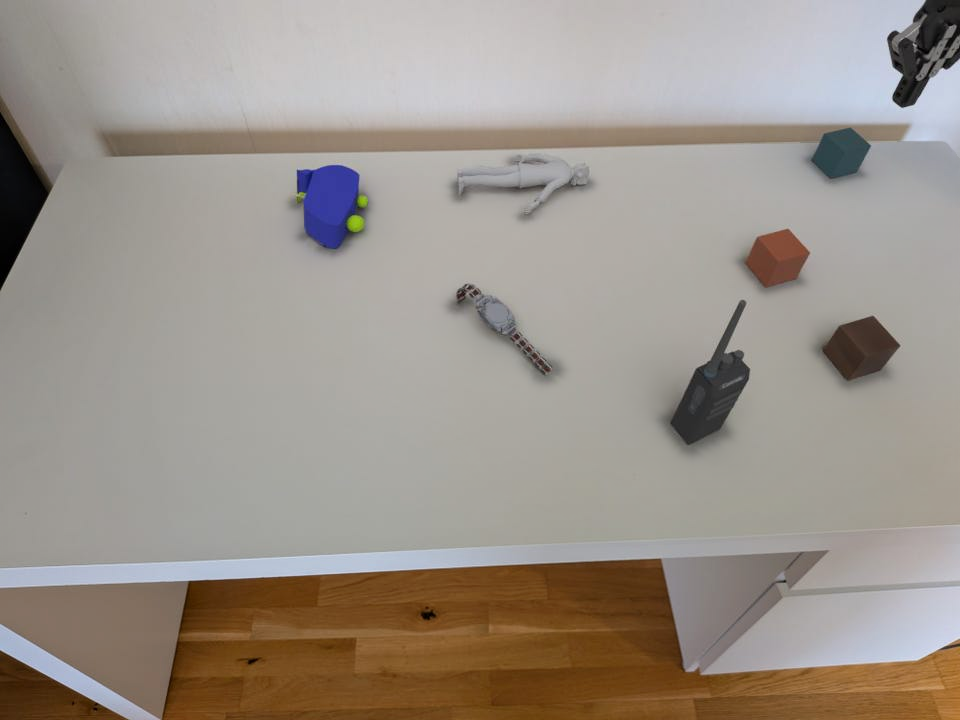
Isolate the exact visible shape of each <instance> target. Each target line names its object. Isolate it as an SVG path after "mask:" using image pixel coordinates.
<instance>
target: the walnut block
mask: <svg viewBox="0 0 960 720" xmlns="http://www.w3.org/2000/svg"><path fill="white" fill-rule="evenodd" d="M901 346H902V345H901V344H900V343H899V342H898V341H897V340H896V338H895V337H894V336H893V335H892V334H891V333H890V332H889V331H888V329H886V328H885V327H884V325H883V324H882V323H881V322H880V321H879V320H878V319H877V318H876V317H875V316H874V315H870V316H867V317H862V318H860V319H857V320H852V321H850V322H846V323H843V324H840V325H838V326H837V327H836V329H835V331H834V332H833V334H832V336H831V337H830V339H829V340H828V342H827V343H826V344H825V346H824V348H822V352H823V353H824V355H825V356H827V358H828V359H829V361H830V362H831V363H832V364H833V366H834V367H835V368H836V369H837V370H838V372H839V373H840V374H841V375H842V376H843V378H844V379H845V380H846V381H852V380H855V379H858V378H862V377H865V376H867V375H870V374H873V373H876V372H880V371H881V370H882V369H883V368H884V367H885V366H886V365H887V363H888V362H889V361H890V360H891V358H892V357H893V356H894V354H896V353H897V351H898V350H899V349H900V347H901Z"/></svg>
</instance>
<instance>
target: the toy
mask: <svg viewBox="0 0 960 720" xmlns="http://www.w3.org/2000/svg"><path fill="white" fill-rule="evenodd" d="M359 188H360V174H359V173H358V172H357V171H356V170H354V169H352V168H350V167H348V166H345V165H342V164H328V165H325V166H321V167H319V168H316V169H296V193H295V192H291V195H292V196H296V199H297V200H296V201H297V202H296V203H297V204H298V203H299V202H301V199H303V226H304V227H303V228H304V230H305V232H306V233H307V234H308V235H309V236H310V237H311V238H313V239H314V240H315V241H317V243H320V245H323V247H324V248H326V247H327V248H330V249H338V248H339V247H340V246H341V245H342V243H343V242H344V240H345V238H346V237H347V234H348V233H349V231H350V232H352V233H358V232H360V231H362V230H363V229H364V228H365V221H364V219H363V217H361V216H360V215H357V209H358V207H359V208H366V207H367V205H368V203H369V200H368V198H367V196H365V195H359V190H360V189H359Z"/></svg>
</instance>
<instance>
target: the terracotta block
mask: <svg viewBox="0 0 960 720" xmlns="http://www.w3.org/2000/svg"><path fill="white" fill-rule="evenodd" d="M810 255H811V251H810V250H808V248H807V247H806V246H805V245H804V244H803V243H802V242H801V240H799V238H798V237H796V235H795V234H794V233H793V232H792V230H790V229H789V228H785V229H781V230H777V231H774V232H769V233H766V234H762V235H759V236H756V238H755V240H754V242H753V245H752V246H751V248H750V252H749V253H748V256H747V259H746V260H745V265H746V266H747V267H748V269H750V271H751V272H752V273H753V274H754V276H755V277H756V278H757V279H758V280H759V282H760V283H761V284H762V285H763V287H764V288H769V287H773V286H776V285H780V284H784V283H787V282H790V281H793V280H797V278H798V276H799V274H800V273H801V271H802V269H803V268H804V266H805V263H806V262H807V260H808V258H809V257H810Z"/></svg>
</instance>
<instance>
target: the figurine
mask: <svg viewBox="0 0 960 720" xmlns="http://www.w3.org/2000/svg"><path fill="white" fill-rule="evenodd" d="M514 160H515V162H517V163H516V164H513V165H512V164H511V165H507V166H506V165H505V166H497V167H490V166H479V165H478V166H470V167H461V169H459V168H457V189H458V196H462V194H463V191H464V189H465V187H489V188H490V187H491V188H515V187H517V188H518V189H522V188H530V187H535V186H545V187H544V188H543V189H542V190H541V191H540V193H539V194H538V196H536V198H535V199H534V202H532V203H531V204H530V205H526V207H527V208H525V209H524V210H525V211H524V213H525V215H528V214H530V213H531V212H532V211H534V210H535V209H536V208H537V207H539V206H540V205H542V204H543V203H544V202H545V201H546V200H548V198H549V196H551V194H552V193H553V192H554V191H555V190H557V189H559V188H561V187H563V186H564V185H567V184H568V183H570V185H571V186H577V185H579V186H580V185H581V186H582V185H587V183H588V179H589V175H590V169H589V165H588V164H587V163H586V162H581V163H575V166H573V168H572V167H571V166H570V165H569V163H568V162H567V160H564V159H563V158H561V157H558V156H553V155H548V154H545V153H538V152H537V153H528V154H527V155H525V154H516V155H515V156H514ZM525 162H526V163H525ZM527 162H531V163H527ZM534 163H540V164H534Z"/></svg>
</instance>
